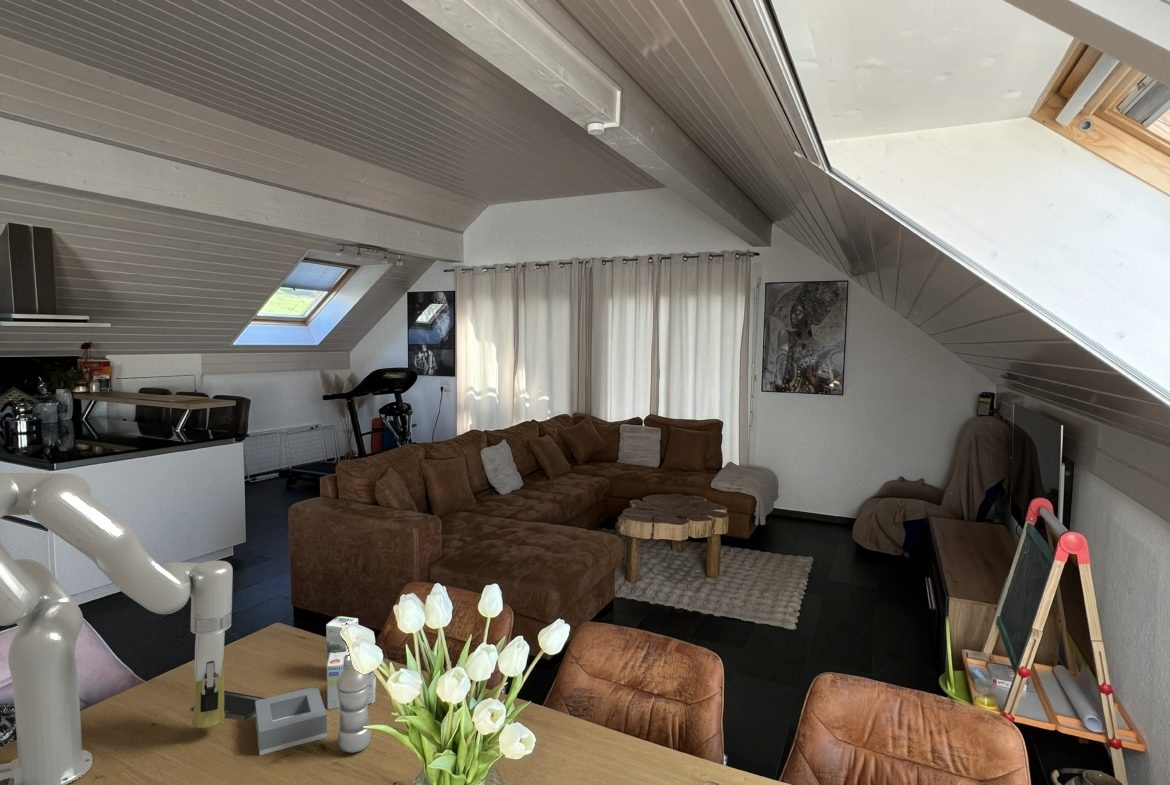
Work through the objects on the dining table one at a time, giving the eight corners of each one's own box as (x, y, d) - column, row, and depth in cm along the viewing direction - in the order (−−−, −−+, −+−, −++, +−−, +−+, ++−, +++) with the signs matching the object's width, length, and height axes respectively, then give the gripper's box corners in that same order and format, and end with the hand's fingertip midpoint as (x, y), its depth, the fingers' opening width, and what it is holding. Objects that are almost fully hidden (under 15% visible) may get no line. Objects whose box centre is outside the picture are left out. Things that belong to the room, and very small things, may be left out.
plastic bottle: (368, 756, 134) (367, 663, 132) (334, 758, 133) (332, 665, 131) (373, 736, 140) (372, 648, 138) (340, 739, 139) (339, 649, 137)
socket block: (259, 755, 133) (259, 732, 133) (255, 722, 144) (255, 700, 144) (326, 736, 140) (326, 714, 139) (318, 706, 151) (317, 686, 151)
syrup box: (359, 671, 167) (359, 617, 166) (346, 683, 161) (345, 627, 160) (340, 668, 168) (339, 614, 167) (326, 680, 162) (325, 624, 161)
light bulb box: (376, 688, 159) (375, 646, 158) (375, 704, 153) (374, 660, 152) (329, 694, 156) (329, 651, 155) (326, 710, 150) (325, 665, 149)
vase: (186, 721, 138) (188, 656, 138) (216, 709, 144) (218, 646, 143) (200, 732, 135) (202, 665, 134) (230, 719, 140) (232, 655, 139)
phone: (217, 689, 156) (271, 698, 152) (217, 694, 156) (271, 703, 152) (190, 707, 148) (246, 718, 145) (190, 712, 148) (246, 722, 145)
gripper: (191, 608, 143) (189, 687, 145) (189, 640, 129) (187, 728, 130) (230, 603, 147) (228, 680, 148) (232, 634, 132) (230, 719, 133)
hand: (209, 701), depth 139 cm, fingers closed on vase, 5 cm apart
